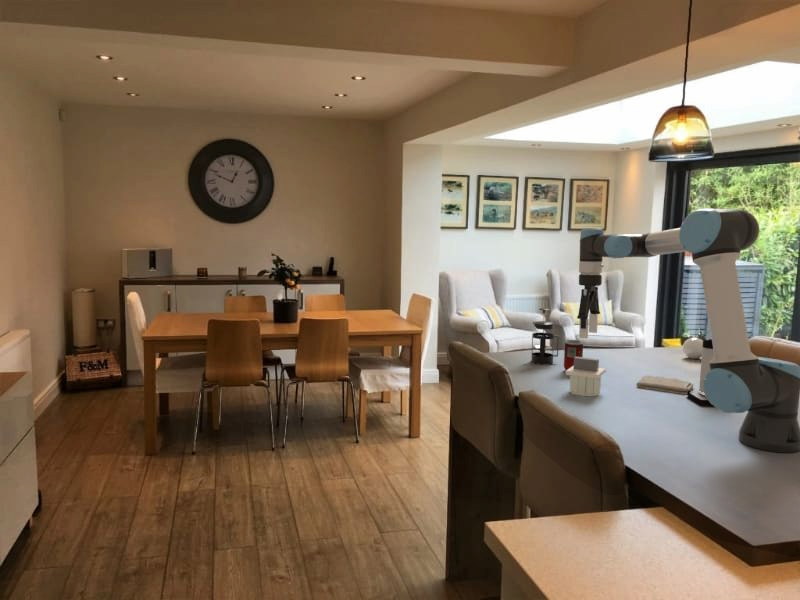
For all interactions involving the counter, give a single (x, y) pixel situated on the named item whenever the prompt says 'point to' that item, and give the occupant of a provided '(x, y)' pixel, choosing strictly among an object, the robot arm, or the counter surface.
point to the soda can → (572, 352)
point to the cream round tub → (585, 385)
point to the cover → (586, 368)
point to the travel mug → (705, 360)
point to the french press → (543, 342)
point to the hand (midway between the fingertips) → (588, 335)
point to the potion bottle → (693, 348)
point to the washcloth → (665, 384)
